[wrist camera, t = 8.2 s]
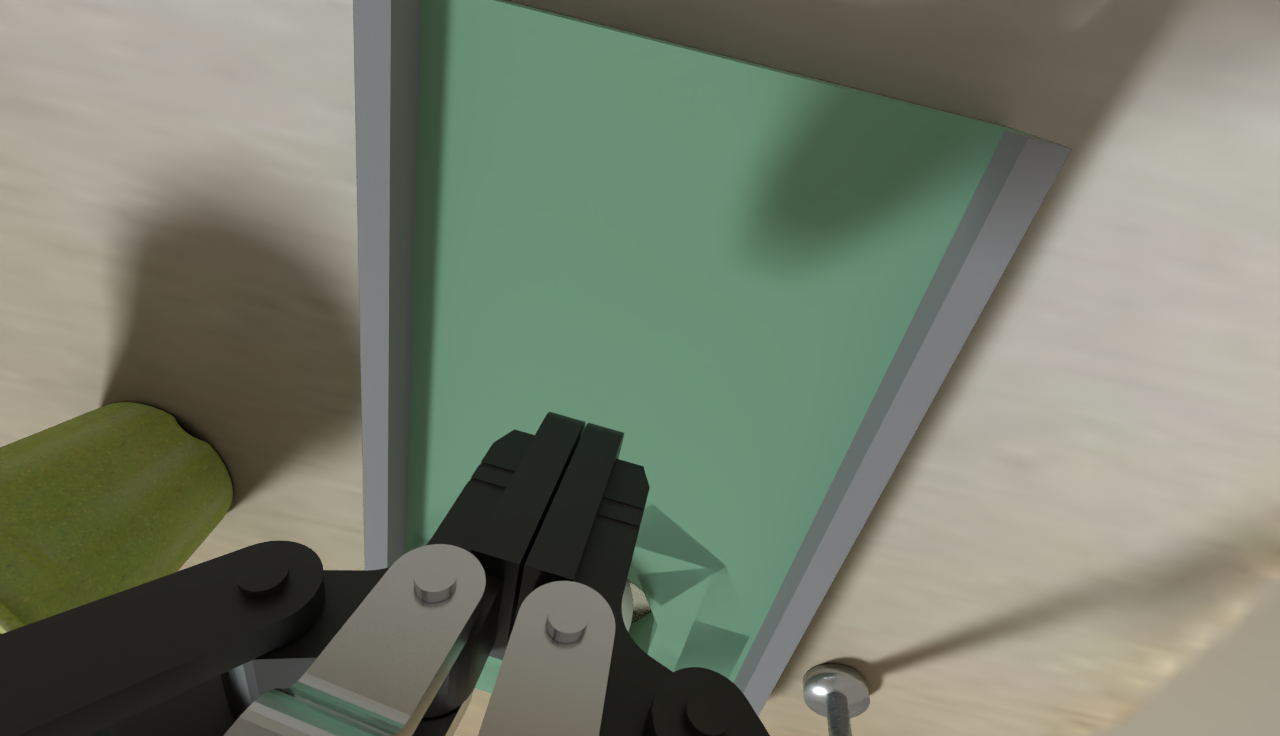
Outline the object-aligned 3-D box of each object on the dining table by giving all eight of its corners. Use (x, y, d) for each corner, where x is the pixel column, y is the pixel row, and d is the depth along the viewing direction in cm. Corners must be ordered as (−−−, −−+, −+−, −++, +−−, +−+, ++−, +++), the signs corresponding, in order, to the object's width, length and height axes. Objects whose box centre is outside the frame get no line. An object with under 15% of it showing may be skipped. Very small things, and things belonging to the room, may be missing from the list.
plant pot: (230, 369, 22) (-57, 544, 14) (303, 562, 26) (115, 775, 18) (15, 351, 23) (-348, 502, 16) (119, 537, 27) (-124, 723, 20)
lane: (430, -19, 14) (352, -33, 12) (1009, 127, 14) (1071, 148, 11) (408, 619, 26) (367, 686, 24) (719, 714, 26) (714, 796, 23)
